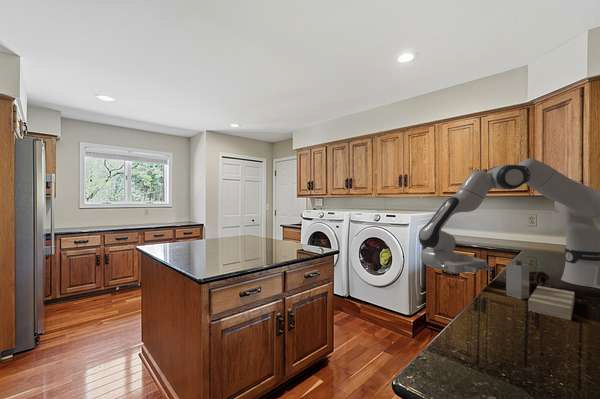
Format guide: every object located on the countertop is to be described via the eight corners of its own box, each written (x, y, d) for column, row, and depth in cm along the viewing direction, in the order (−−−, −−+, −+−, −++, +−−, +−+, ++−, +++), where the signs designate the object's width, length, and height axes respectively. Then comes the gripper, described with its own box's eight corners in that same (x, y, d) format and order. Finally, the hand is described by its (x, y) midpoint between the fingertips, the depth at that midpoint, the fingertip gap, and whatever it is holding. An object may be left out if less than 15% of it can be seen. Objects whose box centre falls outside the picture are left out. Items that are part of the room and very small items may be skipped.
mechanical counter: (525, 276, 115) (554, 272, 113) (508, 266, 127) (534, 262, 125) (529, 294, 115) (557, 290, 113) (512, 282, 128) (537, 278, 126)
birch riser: (537, 295, 109) (537, 285, 109) (574, 302, 101) (574, 291, 101) (528, 311, 93) (528, 300, 93) (570, 320, 86) (570, 308, 86)
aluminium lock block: (514, 293, 111) (514, 259, 111) (529, 297, 106) (529, 261, 106) (506, 295, 108) (506, 260, 108) (521, 299, 104) (521, 263, 104)
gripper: (437, 257, 126) (467, 264, 114) (468, 254, 135) (499, 259, 123) (437, 272, 126) (467, 280, 114) (468, 267, 135) (499, 274, 123)
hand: (484, 269), depth 118 cm, fingers open, 8 cm apart
